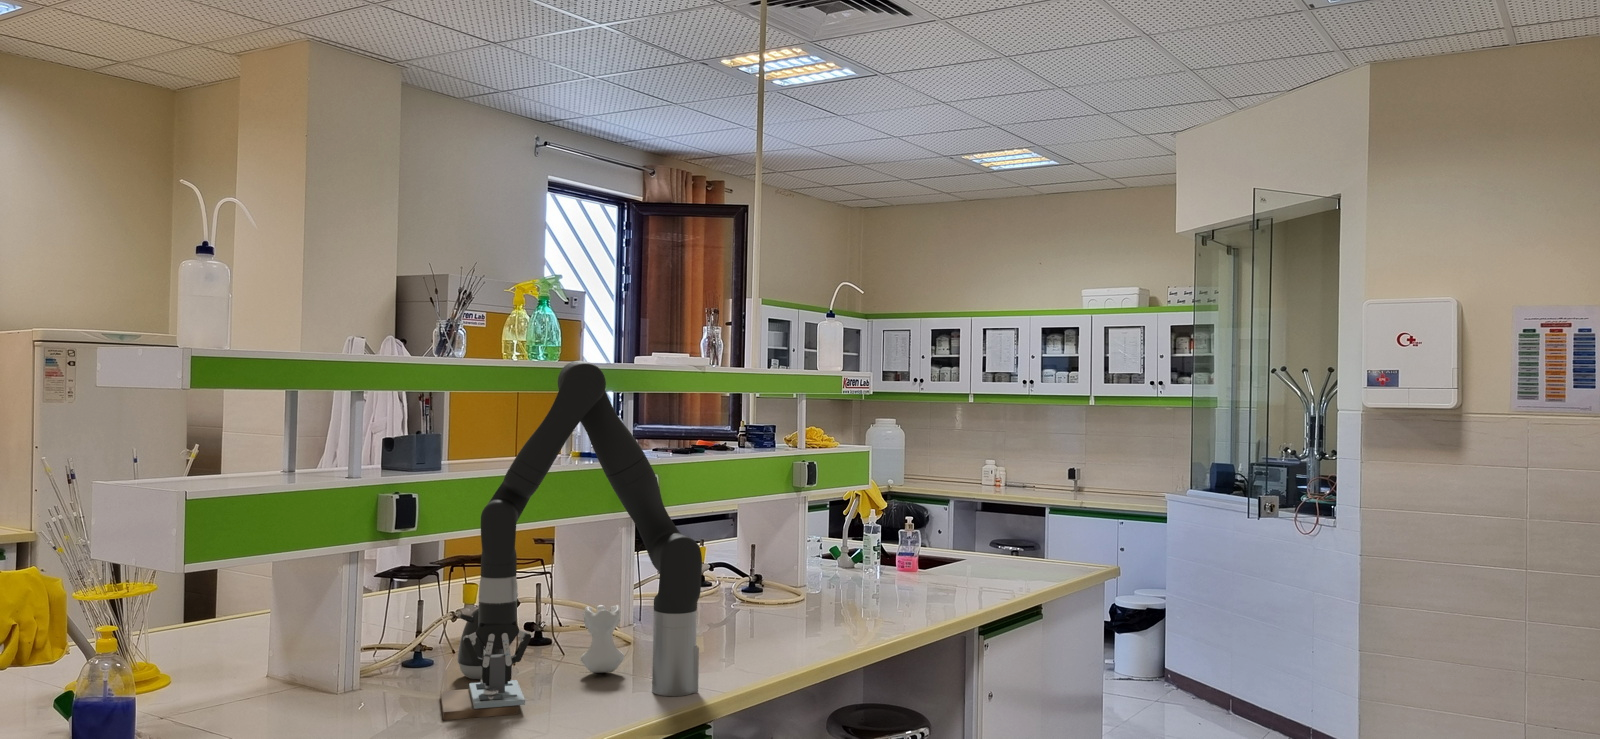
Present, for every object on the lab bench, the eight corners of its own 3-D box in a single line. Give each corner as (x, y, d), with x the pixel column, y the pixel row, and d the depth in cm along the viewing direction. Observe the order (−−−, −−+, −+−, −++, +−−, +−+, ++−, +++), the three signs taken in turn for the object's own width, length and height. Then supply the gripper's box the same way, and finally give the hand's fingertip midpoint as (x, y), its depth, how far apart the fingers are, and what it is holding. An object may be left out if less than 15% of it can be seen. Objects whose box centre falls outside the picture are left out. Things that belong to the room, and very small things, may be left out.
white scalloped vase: (581, 680, 244) (582, 611, 245) (577, 668, 255) (579, 602, 256) (625, 677, 247) (626, 610, 247) (620, 666, 258) (621, 601, 258)
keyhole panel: (516, 684, 233) (517, 646, 233) (524, 704, 218) (525, 663, 218) (469, 688, 230) (469, 649, 230) (474, 708, 215) (474, 667, 215)
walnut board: (510, 693, 233) (511, 673, 233) (518, 714, 218) (518, 692, 218) (440, 698, 228) (440, 678, 228) (443, 720, 213) (443, 698, 213)
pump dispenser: (447, 676, 246) (449, 607, 246) (490, 668, 253) (491, 601, 254) (470, 685, 239) (471, 614, 239) (513, 677, 246) (515, 608, 246)
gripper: (531, 593, 230) (529, 677, 230) (460, 596, 226) (459, 682, 225) (535, 599, 223) (534, 686, 223) (462, 603, 219) (460, 691, 218)
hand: (496, 683), depth 224 cm, fingers closed on keyhole panel, 3 cm apart
